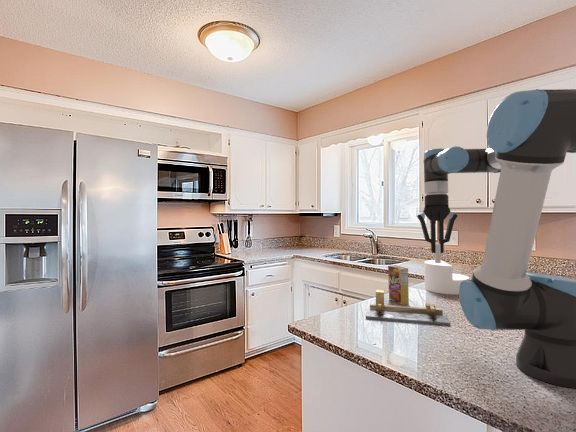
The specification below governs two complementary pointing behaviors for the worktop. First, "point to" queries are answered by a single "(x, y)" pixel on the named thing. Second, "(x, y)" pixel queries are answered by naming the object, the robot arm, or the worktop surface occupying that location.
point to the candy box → (398, 284)
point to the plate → (408, 317)
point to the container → (441, 278)
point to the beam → (412, 309)
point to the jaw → (379, 300)
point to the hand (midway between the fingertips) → (437, 262)
